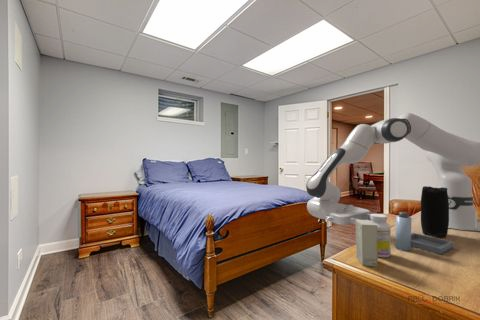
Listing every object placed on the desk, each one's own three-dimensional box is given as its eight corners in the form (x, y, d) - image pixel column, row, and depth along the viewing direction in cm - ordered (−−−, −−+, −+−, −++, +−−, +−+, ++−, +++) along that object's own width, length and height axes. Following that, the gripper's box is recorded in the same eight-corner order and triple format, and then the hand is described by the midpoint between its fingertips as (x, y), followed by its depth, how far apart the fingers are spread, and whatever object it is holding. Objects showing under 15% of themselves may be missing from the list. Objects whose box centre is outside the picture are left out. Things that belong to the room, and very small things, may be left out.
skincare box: (378, 267, 65) (378, 225, 65) (361, 265, 66) (361, 224, 66) (370, 257, 71) (370, 219, 71) (355, 256, 72) (355, 218, 72)
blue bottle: (398, 245, 81) (399, 210, 81) (413, 249, 77) (413, 213, 77) (392, 247, 79) (393, 212, 79) (407, 251, 75) (408, 214, 75)
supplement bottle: (370, 248, 78) (370, 211, 78) (393, 254, 74) (393, 215, 73) (363, 253, 74) (364, 215, 74) (387, 260, 69) (387, 219, 69)
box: (413, 237, 89) (413, 232, 89) (453, 248, 78) (453, 242, 78) (399, 243, 83) (399, 237, 83) (440, 255, 73) (440, 248, 73)
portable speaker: (451, 235, 91) (451, 187, 91) (444, 240, 86) (445, 189, 86) (424, 229, 98) (425, 185, 98) (417, 234, 93) (417, 187, 93)
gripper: (323, 209, 95) (354, 216, 83) (351, 203, 105) (383, 209, 93) (323, 224, 95) (354, 233, 83) (351, 217, 105) (383, 224, 93)
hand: (369, 220), depth 88 cm, fingers open, 8 cm apart
